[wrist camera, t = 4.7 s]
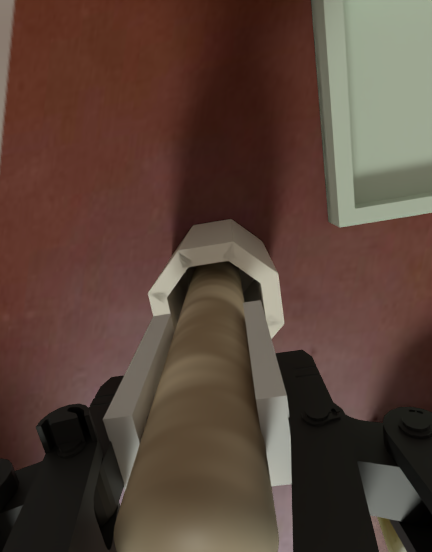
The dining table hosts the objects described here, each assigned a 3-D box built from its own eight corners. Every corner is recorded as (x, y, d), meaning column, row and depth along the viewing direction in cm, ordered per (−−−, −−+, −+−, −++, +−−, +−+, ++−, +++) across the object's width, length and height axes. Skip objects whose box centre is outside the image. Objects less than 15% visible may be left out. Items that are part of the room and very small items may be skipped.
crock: (184, 314, 27) (166, 373, 19) (166, 229, 25) (139, 256, 17) (270, 302, 26) (288, 356, 19) (258, 214, 24) (273, 235, 17)
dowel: (198, 300, 25) (134, 605, 7) (189, 257, 24) (94, 486, 6) (243, 294, 24) (287, 592, 7) (236, 249, 24) (267, 466, 6)
